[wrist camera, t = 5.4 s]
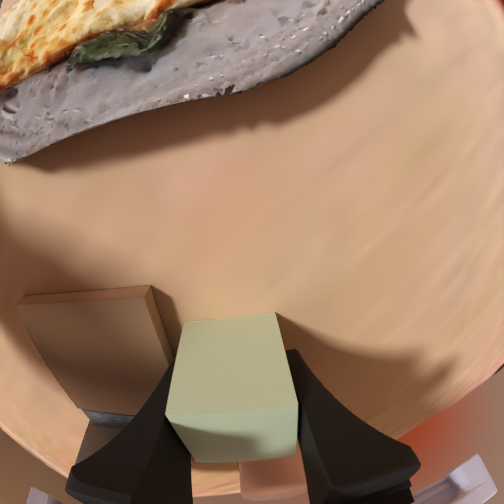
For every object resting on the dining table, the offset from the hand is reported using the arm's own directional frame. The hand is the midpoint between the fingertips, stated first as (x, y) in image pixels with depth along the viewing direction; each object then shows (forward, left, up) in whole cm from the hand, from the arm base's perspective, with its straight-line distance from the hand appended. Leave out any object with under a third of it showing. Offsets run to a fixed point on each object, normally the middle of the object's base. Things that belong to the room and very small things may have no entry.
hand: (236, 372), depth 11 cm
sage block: (0, 0, -2) cm, 2 cm away
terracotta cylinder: (+8, +1, -2) cm, 8 cm away
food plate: (-22, -3, -2) cm, 22 cm away
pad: (0, -7, -1) cm, 7 cm away
